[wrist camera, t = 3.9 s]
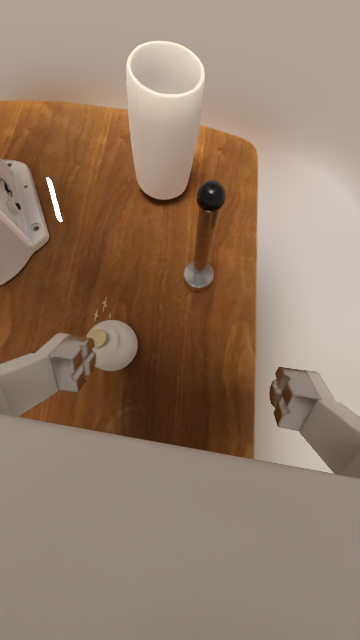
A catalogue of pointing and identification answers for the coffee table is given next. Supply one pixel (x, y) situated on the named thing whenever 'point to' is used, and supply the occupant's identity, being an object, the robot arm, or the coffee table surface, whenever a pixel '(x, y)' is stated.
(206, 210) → the black knob on rod
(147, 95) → the cup
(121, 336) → the ornament
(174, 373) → the coffee table surface
